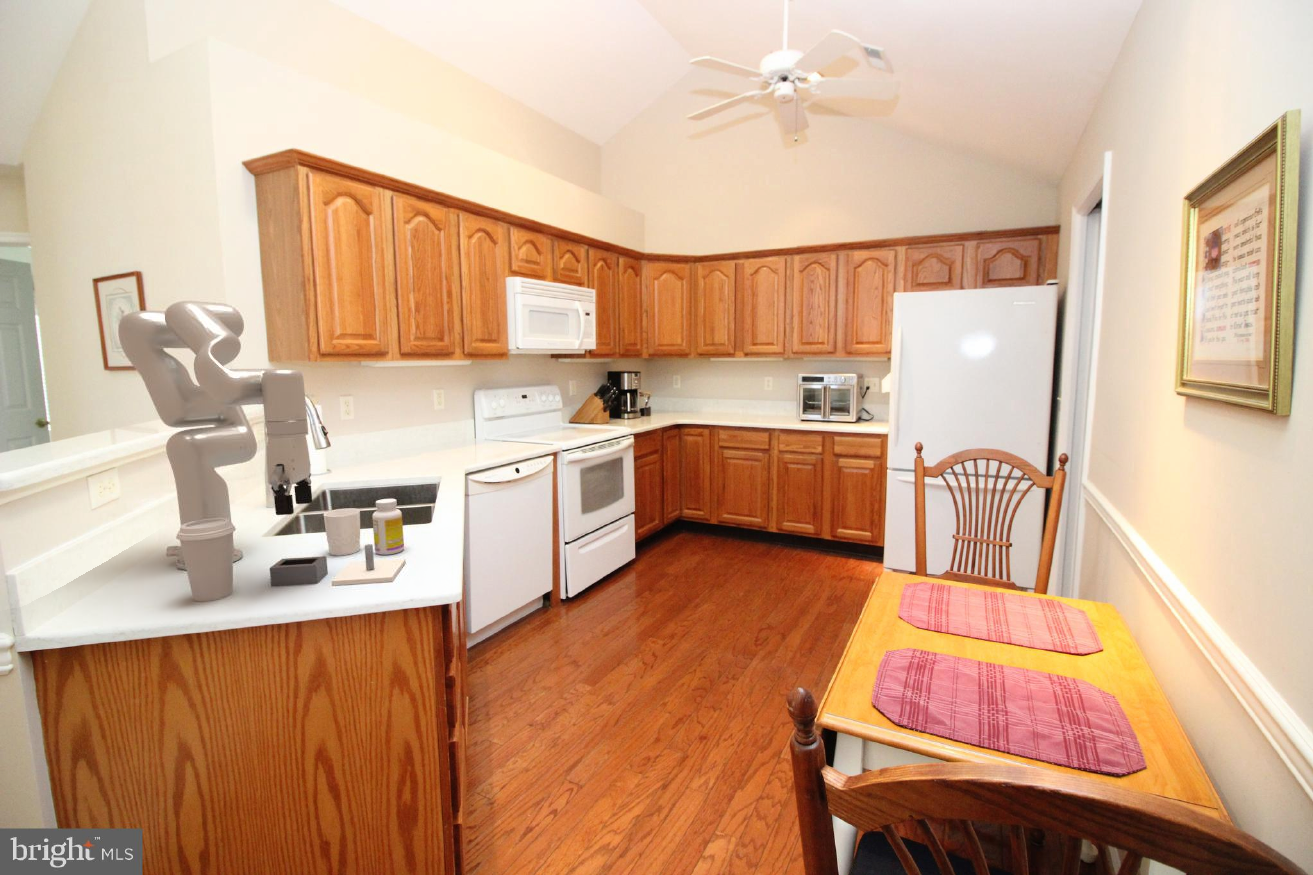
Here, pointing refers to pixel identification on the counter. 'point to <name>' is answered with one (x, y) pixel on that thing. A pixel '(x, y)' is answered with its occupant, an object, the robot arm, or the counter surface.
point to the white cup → (343, 531)
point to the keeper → (369, 570)
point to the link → (298, 571)
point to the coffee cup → (208, 557)
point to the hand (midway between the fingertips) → (294, 508)
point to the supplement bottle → (387, 527)
